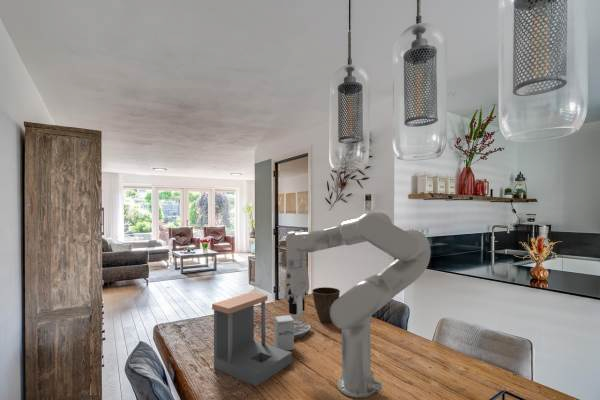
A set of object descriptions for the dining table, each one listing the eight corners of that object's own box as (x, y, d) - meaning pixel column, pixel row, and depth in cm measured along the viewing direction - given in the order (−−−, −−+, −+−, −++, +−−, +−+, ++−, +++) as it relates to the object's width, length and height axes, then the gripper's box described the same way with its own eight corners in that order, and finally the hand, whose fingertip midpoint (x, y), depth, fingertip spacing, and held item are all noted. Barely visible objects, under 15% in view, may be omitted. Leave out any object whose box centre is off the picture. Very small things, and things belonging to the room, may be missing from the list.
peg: (304, 315, 119) (304, 289, 119) (298, 319, 115) (297, 291, 116) (295, 313, 121) (295, 287, 122) (288, 316, 118) (288, 290, 118)
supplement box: (277, 352, 131) (277, 321, 131) (274, 344, 138) (274, 316, 138) (294, 350, 133) (294, 320, 133) (290, 342, 140) (290, 314, 140)
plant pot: (307, 318, 172) (307, 288, 172) (331, 314, 178) (330, 286, 179) (320, 327, 158) (320, 295, 159) (345, 322, 165) (345, 292, 165)
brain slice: (318, 336, 147) (318, 330, 147) (285, 343, 140) (285, 336, 140) (300, 323, 165) (300, 317, 165) (270, 328, 158) (270, 322, 158)
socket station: (292, 362, 122) (292, 300, 123) (255, 387, 105) (254, 315, 106) (251, 347, 135) (251, 292, 136) (211, 367, 118) (212, 304, 119)
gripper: (290, 267, 110) (291, 320, 109) (316, 261, 124) (317, 307, 123) (274, 265, 114) (275, 316, 114) (301, 259, 128) (301, 304, 127)
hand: (296, 311), depth 118 cm, fingers closed on peg, 4 cm apart
